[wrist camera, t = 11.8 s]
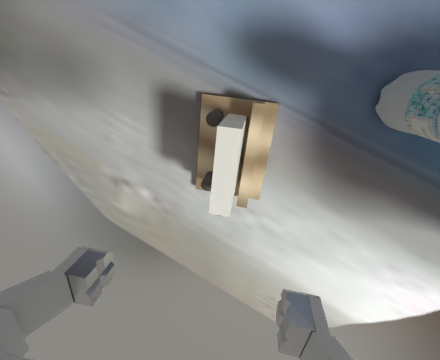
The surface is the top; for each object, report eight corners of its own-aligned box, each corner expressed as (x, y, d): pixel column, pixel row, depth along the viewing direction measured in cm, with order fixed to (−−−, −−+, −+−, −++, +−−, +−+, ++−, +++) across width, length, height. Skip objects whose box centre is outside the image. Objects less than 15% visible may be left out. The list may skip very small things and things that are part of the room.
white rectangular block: (228, 113, 29) (217, 125, 21) (246, 115, 29) (242, 129, 21) (220, 181, 33) (208, 213, 25) (236, 183, 33) (229, 216, 25)
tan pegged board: (203, 93, 30) (195, 95, 26) (278, 103, 29) (281, 106, 25) (197, 186, 36) (190, 197, 32) (259, 196, 35) (259, 210, 31)
